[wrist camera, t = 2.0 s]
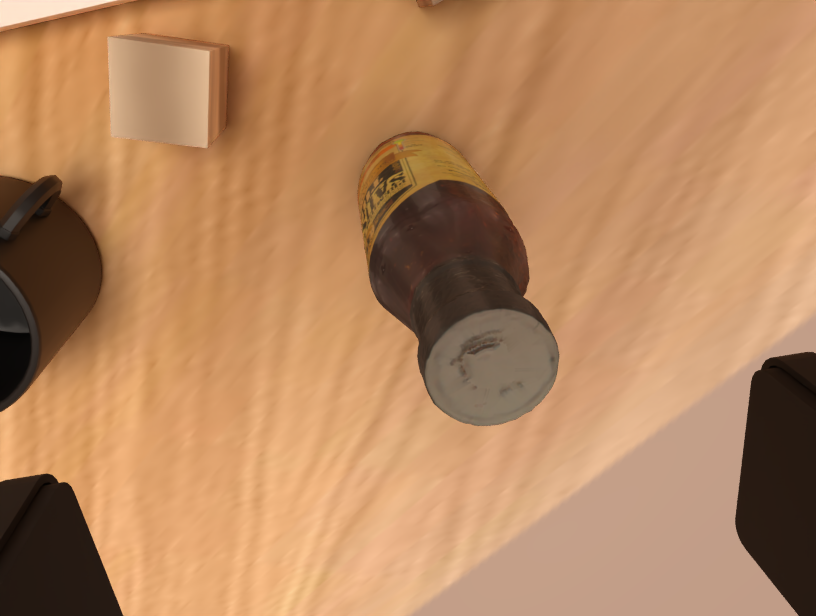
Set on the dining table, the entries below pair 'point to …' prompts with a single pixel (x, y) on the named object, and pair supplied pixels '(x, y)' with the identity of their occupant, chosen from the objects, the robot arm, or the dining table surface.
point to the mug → (40, 279)
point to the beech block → (167, 89)
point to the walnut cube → (427, 2)
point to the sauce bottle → (455, 280)
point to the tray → (46, 10)
